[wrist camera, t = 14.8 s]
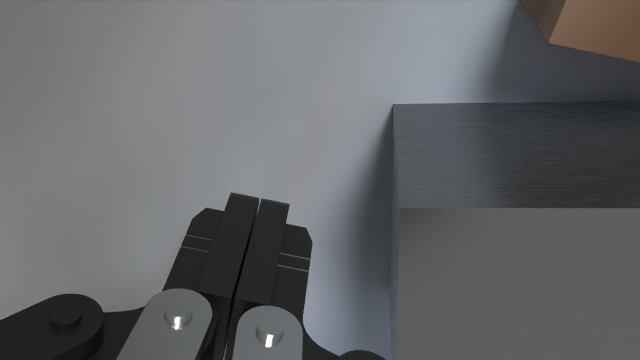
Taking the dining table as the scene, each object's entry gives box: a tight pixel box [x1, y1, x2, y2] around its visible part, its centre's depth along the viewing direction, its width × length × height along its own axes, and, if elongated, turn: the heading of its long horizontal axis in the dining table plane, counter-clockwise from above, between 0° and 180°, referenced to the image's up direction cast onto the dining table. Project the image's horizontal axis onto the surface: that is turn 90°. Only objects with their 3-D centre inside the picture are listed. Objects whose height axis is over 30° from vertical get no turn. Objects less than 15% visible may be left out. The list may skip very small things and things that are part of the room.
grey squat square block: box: [390, 101, 640, 360], centre depth 16 cm, size 7×7×5 cm
